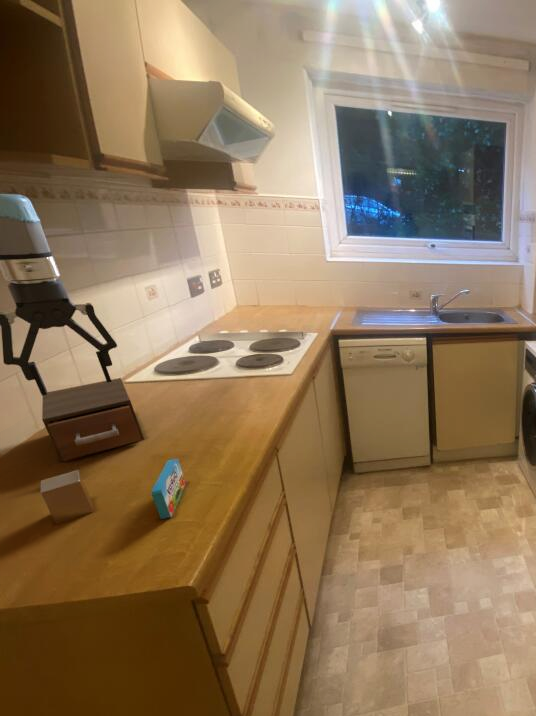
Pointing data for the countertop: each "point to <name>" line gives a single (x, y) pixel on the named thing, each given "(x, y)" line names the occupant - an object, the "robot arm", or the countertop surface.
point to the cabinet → (85, 402)
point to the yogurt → (168, 488)
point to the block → (66, 496)
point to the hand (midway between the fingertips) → (77, 386)
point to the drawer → (94, 432)
